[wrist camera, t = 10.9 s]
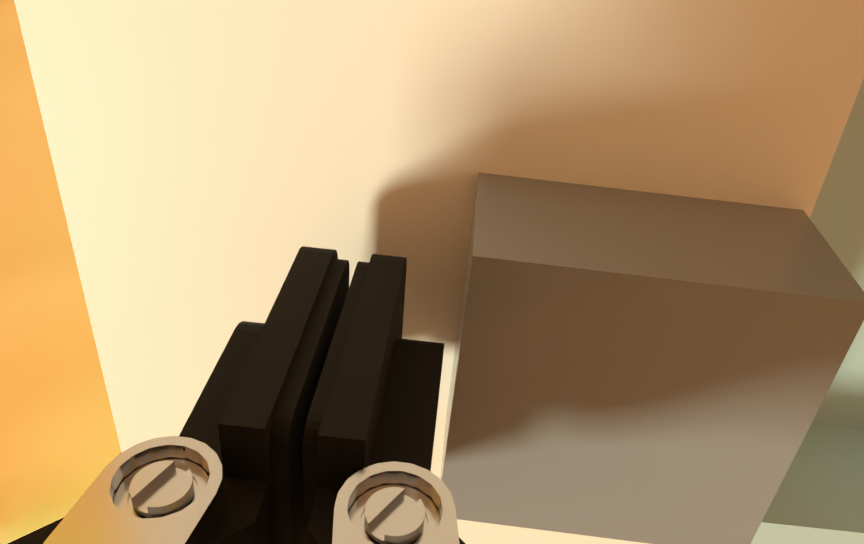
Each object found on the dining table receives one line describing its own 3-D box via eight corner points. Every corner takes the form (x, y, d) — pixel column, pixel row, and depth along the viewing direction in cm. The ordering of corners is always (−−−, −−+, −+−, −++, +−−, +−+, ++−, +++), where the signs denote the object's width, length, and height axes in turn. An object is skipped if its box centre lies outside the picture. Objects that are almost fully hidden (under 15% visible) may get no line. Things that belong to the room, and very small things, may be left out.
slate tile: (478, 171, 11) (472, 255, 9) (802, 209, 11) (872, 302, 9) (446, 410, 14) (436, 516, 12) (708, 441, 14) (744, 555, 12)
